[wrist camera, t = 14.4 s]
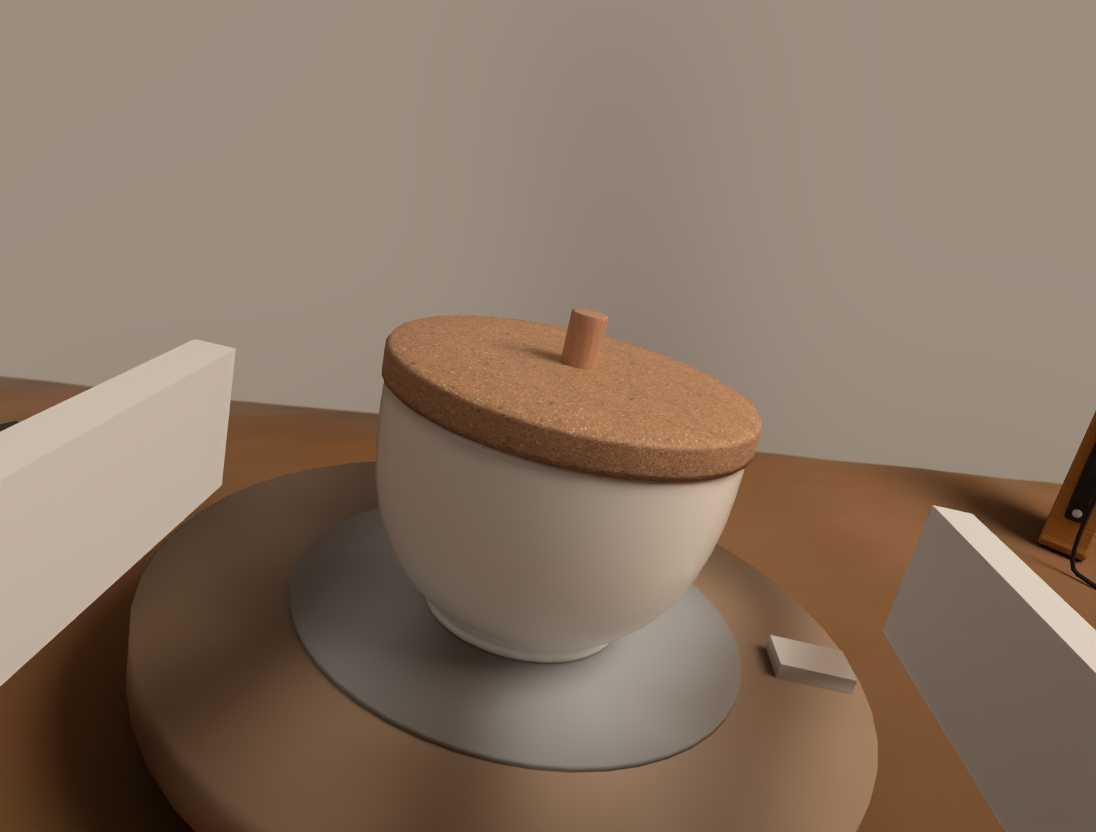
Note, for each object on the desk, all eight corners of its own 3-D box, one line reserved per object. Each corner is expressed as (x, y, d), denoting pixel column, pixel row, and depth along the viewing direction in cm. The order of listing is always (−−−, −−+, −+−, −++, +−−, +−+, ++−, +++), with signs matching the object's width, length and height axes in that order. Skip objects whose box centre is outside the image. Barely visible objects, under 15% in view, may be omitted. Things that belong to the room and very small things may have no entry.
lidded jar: (541, 505, 33) (595, 275, 30) (758, 658, 26) (857, 374, 23) (284, 547, 26) (324, 250, 23) (485, 776, 19) (580, 384, 16)
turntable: (-106, 850, 16) (-109, 767, 15) (292, 452, 37) (297, 410, 36) (1006, 1087, 16) (1047, 1015, 16) (773, 560, 37) (786, 520, 37)
